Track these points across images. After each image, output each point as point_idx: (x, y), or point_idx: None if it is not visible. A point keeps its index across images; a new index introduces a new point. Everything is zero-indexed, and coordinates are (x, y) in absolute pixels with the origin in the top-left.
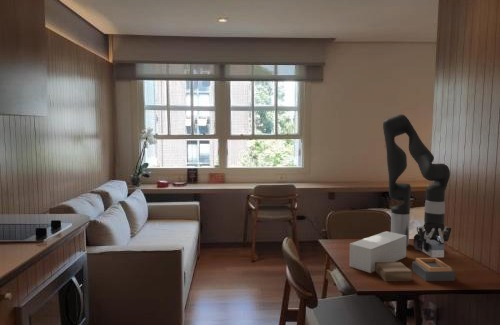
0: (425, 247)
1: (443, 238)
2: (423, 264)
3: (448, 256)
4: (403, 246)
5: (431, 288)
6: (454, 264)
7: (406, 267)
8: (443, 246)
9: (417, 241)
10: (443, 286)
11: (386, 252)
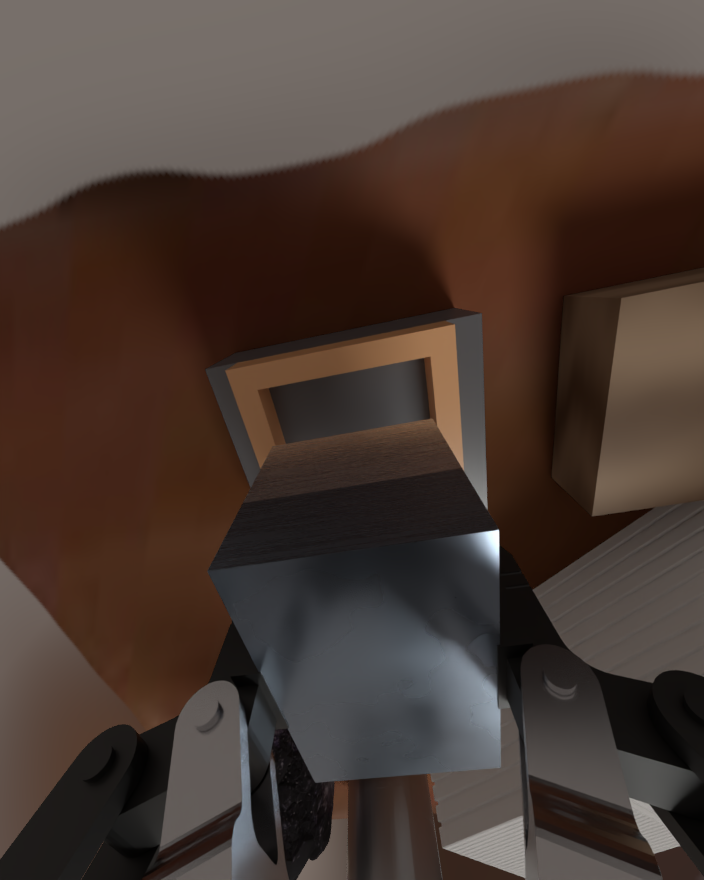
0: (515, 577)
1: (158, 818)
2: (460, 442)
3: (197, 690)
4: None
5: (472, 131)
6: (185, 607)
7: (613, 400)
8: (235, 549)
9: (320, 796)
10: (351, 208)
11: (671, 626)
